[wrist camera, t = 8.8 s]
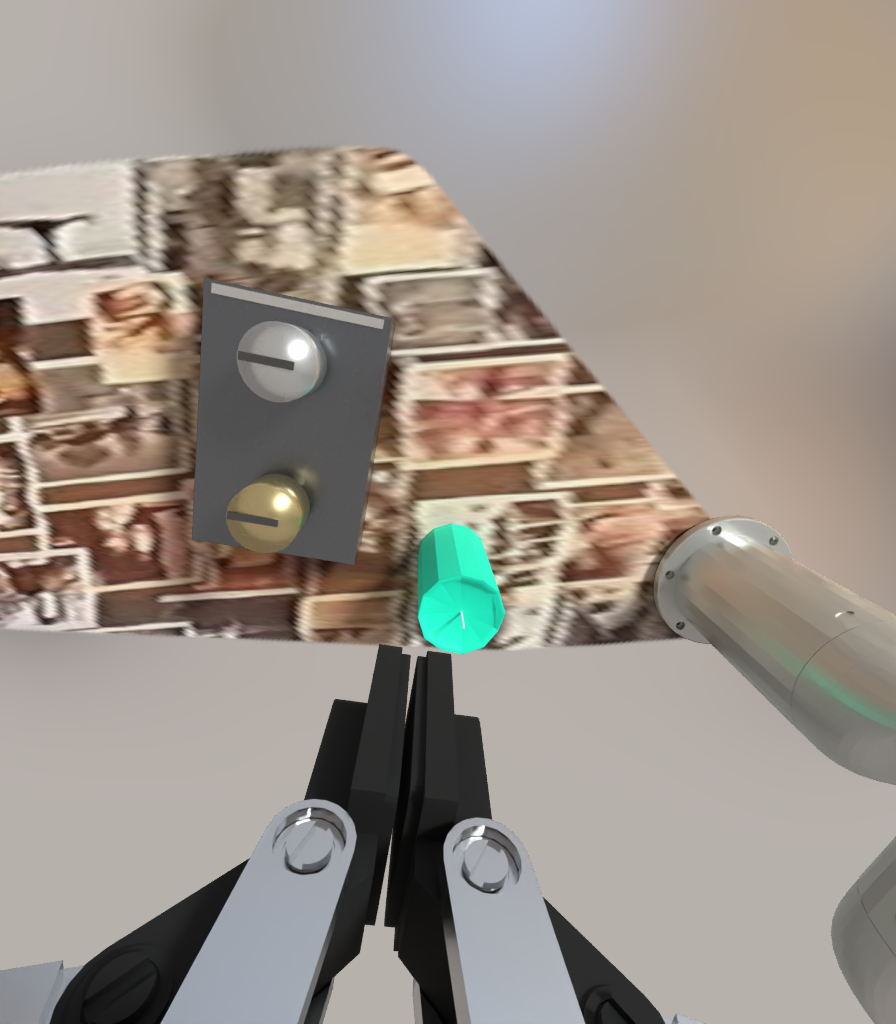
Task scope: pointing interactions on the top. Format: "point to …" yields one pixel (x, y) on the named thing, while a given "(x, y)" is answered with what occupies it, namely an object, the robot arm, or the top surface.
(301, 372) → the knob
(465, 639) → the candle
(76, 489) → the top surface
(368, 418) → the mount
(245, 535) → the knob
